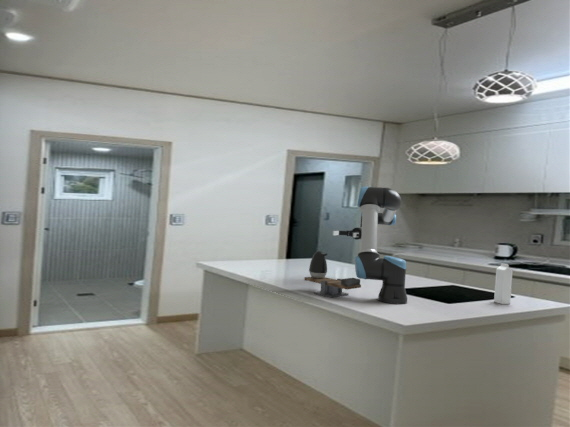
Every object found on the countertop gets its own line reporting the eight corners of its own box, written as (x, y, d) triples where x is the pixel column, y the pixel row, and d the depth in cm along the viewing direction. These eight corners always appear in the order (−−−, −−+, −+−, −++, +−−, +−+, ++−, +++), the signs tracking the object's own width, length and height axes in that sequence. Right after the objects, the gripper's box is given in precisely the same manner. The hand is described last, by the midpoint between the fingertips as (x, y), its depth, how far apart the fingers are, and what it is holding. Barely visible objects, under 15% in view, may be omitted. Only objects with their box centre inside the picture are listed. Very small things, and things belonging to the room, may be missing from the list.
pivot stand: (348, 295, 261) (349, 280, 261) (330, 298, 250) (331, 282, 250) (331, 291, 269) (332, 277, 269) (313, 293, 259) (314, 279, 258)
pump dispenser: (320, 280, 260) (322, 252, 259) (305, 277, 266) (306, 250, 266) (330, 278, 268) (332, 251, 267) (315, 275, 274) (316, 249, 274)
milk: (501, 304, 262) (504, 264, 261) (493, 301, 267) (496, 262, 267) (510, 304, 263) (513, 264, 263) (502, 301, 269) (505, 262, 269)
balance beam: (360, 287, 253) (361, 279, 253) (347, 289, 245) (347, 280, 245) (318, 278, 274) (318, 270, 274) (304, 280, 266) (304, 272, 266)
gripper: (376, 241, 293) (361, 242, 275) (341, 237, 307) (324, 238, 290) (377, 229, 293) (362, 229, 275) (341, 226, 307) (325, 226, 290)
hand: (343, 234), depth 282 cm, fingers open, 13 cm apart
